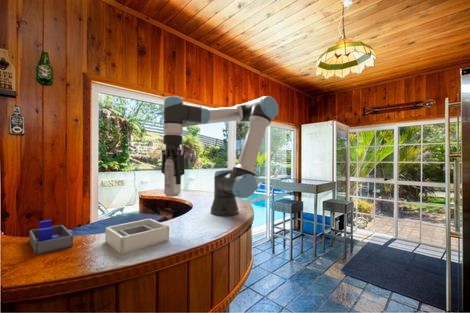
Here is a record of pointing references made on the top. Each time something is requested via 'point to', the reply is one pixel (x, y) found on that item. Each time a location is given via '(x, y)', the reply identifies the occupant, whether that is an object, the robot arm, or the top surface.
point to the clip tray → (54, 244)
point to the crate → (136, 235)
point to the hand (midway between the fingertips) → (172, 191)
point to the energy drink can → (169, 178)
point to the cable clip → (46, 231)
